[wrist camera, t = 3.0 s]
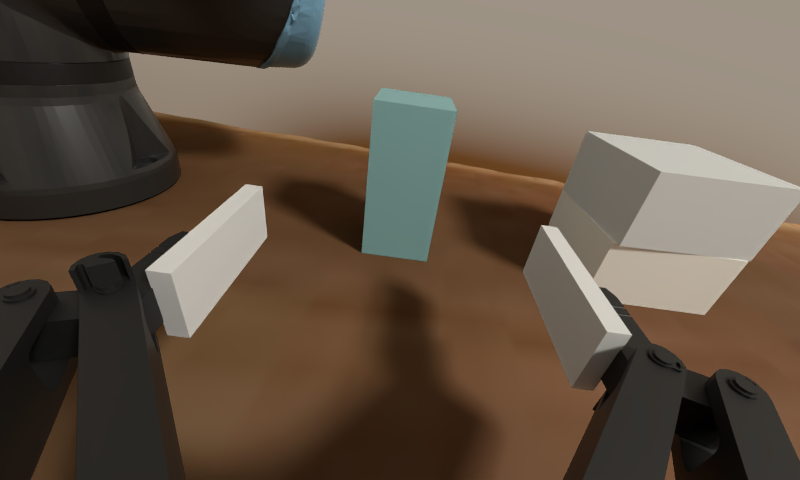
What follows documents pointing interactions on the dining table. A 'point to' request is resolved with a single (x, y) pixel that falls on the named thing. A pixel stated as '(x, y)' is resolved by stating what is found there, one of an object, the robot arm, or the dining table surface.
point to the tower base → (644, 266)
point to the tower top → (677, 197)
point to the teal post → (406, 171)
